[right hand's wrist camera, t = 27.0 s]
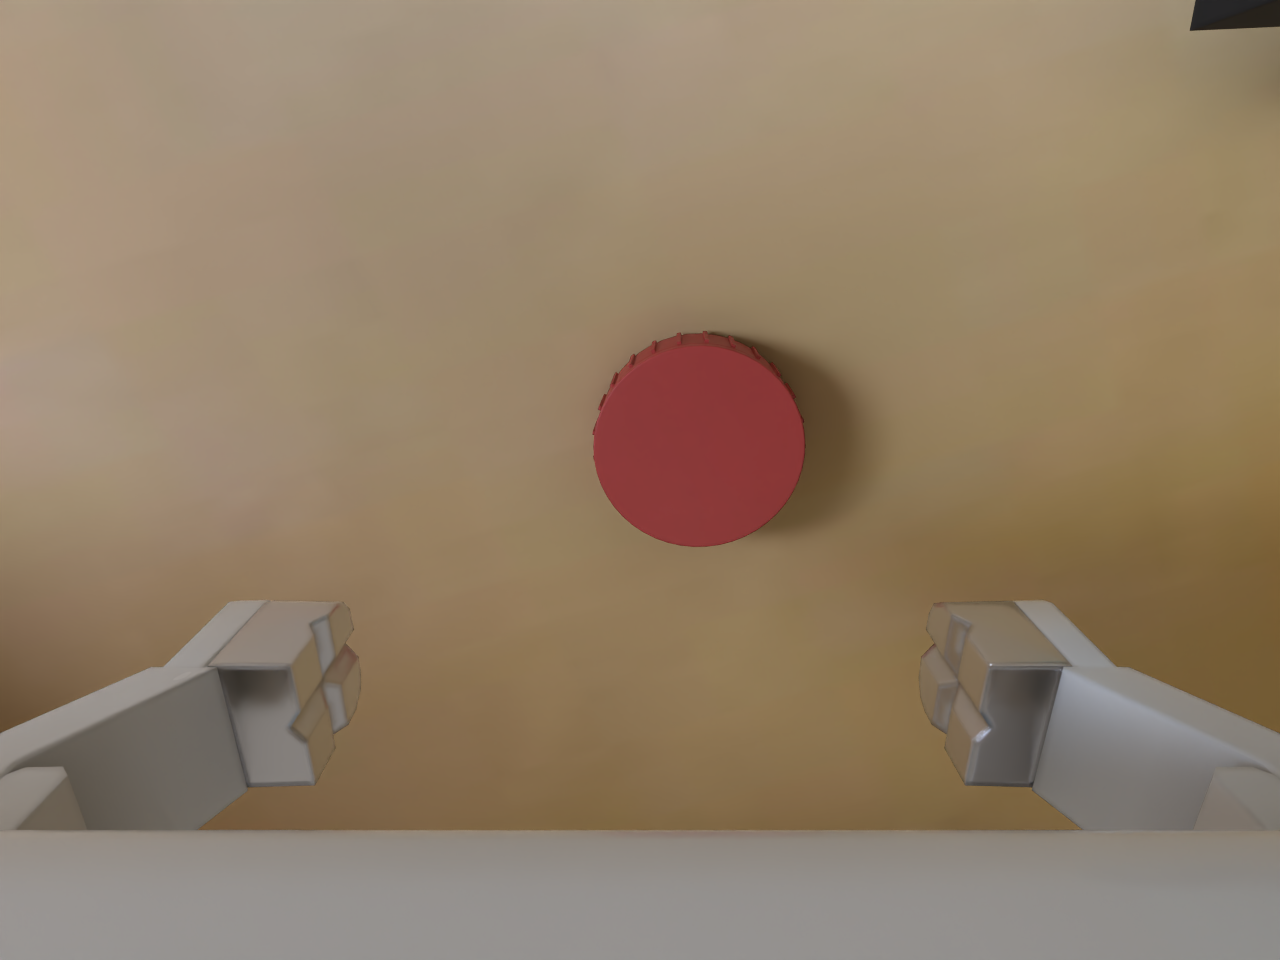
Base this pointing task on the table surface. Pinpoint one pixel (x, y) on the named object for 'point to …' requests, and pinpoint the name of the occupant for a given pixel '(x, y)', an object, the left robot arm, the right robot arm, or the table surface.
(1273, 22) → the left robot arm
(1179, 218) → the table surface
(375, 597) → the table surface
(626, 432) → the lid
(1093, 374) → the table surface
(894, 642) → the table surface
